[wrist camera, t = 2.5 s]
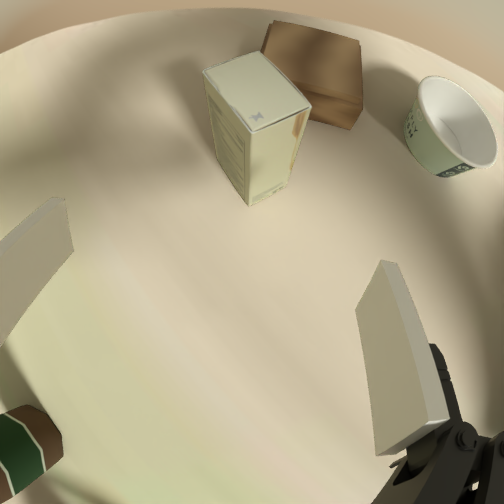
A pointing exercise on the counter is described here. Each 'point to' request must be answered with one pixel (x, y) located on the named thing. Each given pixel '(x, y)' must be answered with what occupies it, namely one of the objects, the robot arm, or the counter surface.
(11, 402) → the counter surface
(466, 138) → the food container
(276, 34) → the walnut base
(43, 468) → the beer bottle
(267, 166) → the skincare box
